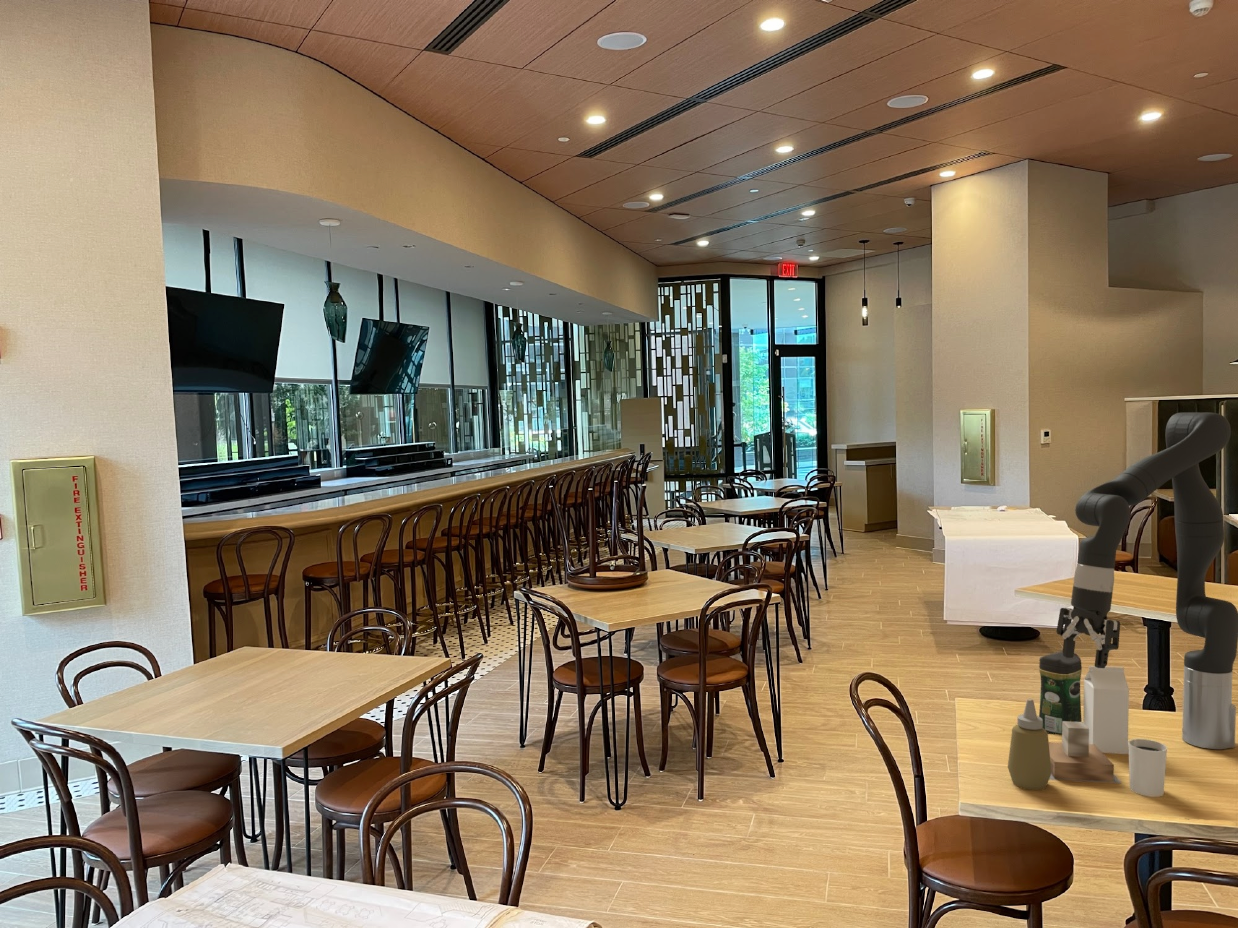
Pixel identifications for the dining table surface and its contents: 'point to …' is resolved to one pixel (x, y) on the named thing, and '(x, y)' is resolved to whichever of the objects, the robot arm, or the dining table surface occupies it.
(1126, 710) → the milk carton
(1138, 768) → the white cup
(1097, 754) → the tan plate with knob
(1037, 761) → the squeeze bottle
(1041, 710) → the coffee jar
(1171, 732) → the dining table surface
